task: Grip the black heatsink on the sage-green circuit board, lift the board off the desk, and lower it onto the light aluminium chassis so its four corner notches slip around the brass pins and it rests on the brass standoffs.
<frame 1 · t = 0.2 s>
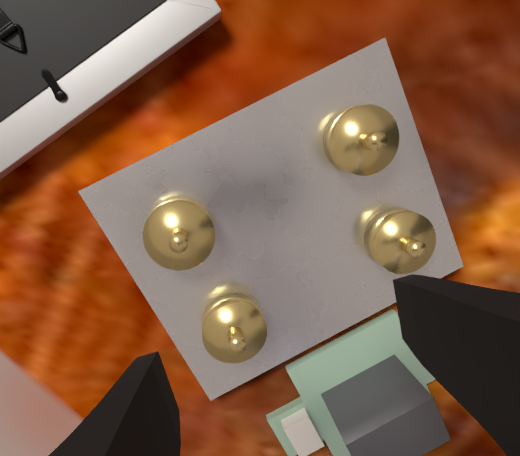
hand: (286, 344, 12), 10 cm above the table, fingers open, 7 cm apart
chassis: (286, 228, 21), on the table
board: (362, 386, 25), on the table
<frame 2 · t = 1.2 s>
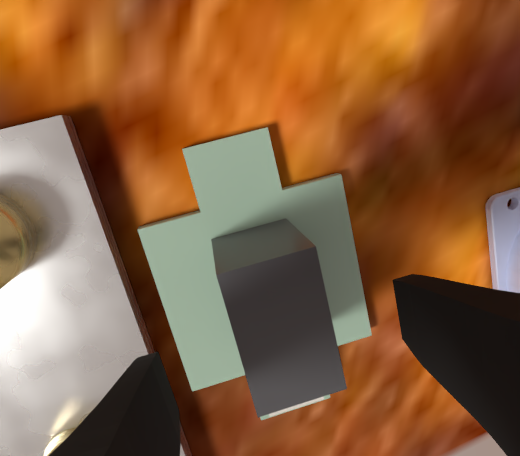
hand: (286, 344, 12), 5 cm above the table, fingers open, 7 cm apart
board: (261, 281, 16), on the table
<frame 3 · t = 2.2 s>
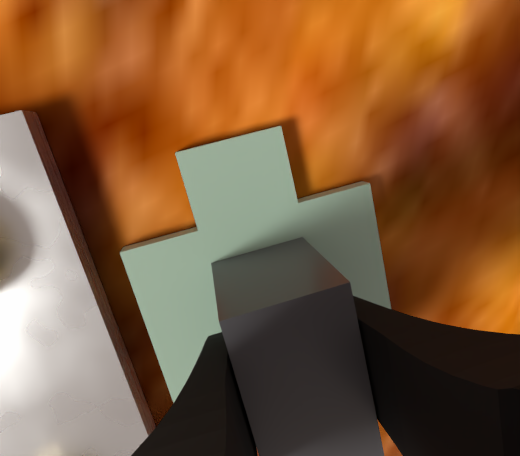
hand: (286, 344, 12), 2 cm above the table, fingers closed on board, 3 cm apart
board: (271, 311, 14), on the table, touching gripper
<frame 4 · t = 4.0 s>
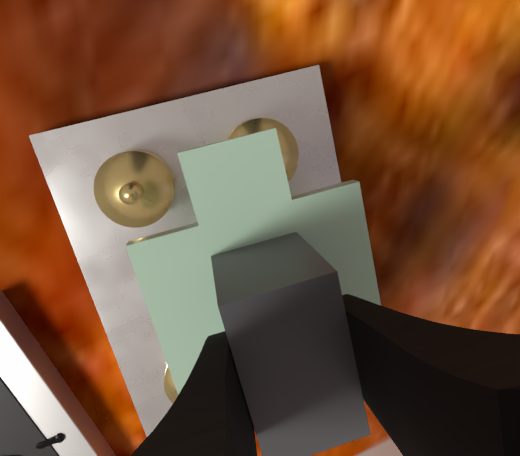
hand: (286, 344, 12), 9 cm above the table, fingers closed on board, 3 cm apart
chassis: (224, 258, 20), on the table
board: (267, 302, 15), point 6 cm above the table, touching gripper
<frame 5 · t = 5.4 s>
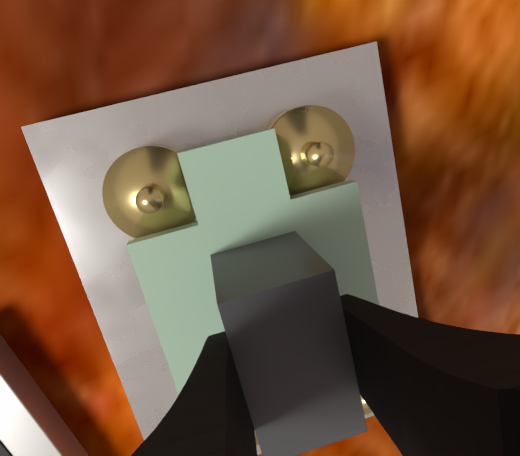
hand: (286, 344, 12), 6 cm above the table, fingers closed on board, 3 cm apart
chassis: (256, 275, 17), on the table
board: (266, 300, 15), point 3 cm above the table, touching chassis, gripper
when the fingers open (6 cm above the table, at t = 6.0 s): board stays where it is, resting on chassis.
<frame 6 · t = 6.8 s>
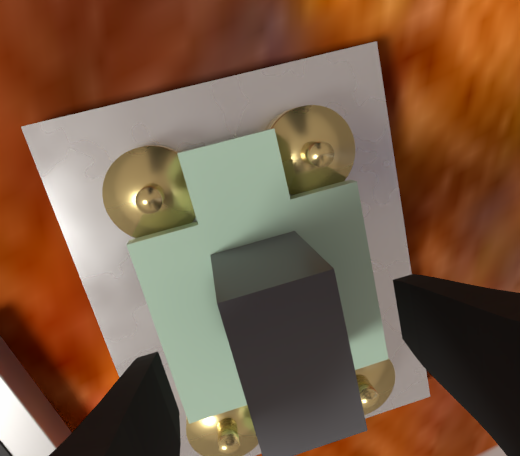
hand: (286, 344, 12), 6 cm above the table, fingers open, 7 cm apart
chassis: (256, 275, 17), on the table
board: (266, 300, 15), point 2 cm above the table, touching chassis
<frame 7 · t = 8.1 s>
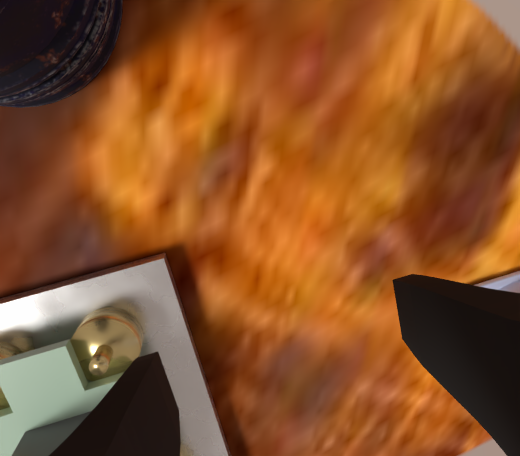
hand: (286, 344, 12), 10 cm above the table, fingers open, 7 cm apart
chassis: (92, 417, 22), on the table
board: (80, 453, 19), point 2 cm above the table, touching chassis
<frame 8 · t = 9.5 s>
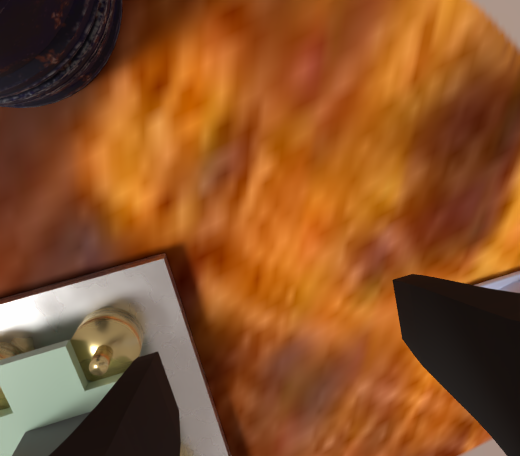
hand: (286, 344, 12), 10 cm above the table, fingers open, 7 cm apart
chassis: (93, 418, 22), on the table
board: (81, 454, 20), point 2 cm above the table, touching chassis
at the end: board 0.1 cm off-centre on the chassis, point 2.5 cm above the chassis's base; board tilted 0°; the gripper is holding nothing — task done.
